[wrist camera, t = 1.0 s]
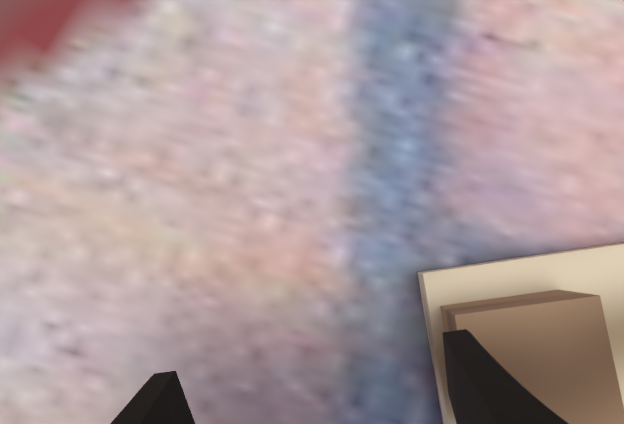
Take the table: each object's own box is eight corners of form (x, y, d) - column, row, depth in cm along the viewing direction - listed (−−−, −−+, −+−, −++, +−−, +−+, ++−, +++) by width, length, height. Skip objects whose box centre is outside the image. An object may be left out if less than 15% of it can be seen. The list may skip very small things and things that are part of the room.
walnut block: (583, 410, 21) (631, 444, 17) (460, 424, 21) (480, 460, 18) (558, 289, 22) (599, 295, 18) (440, 305, 22) (454, 315, 18)
